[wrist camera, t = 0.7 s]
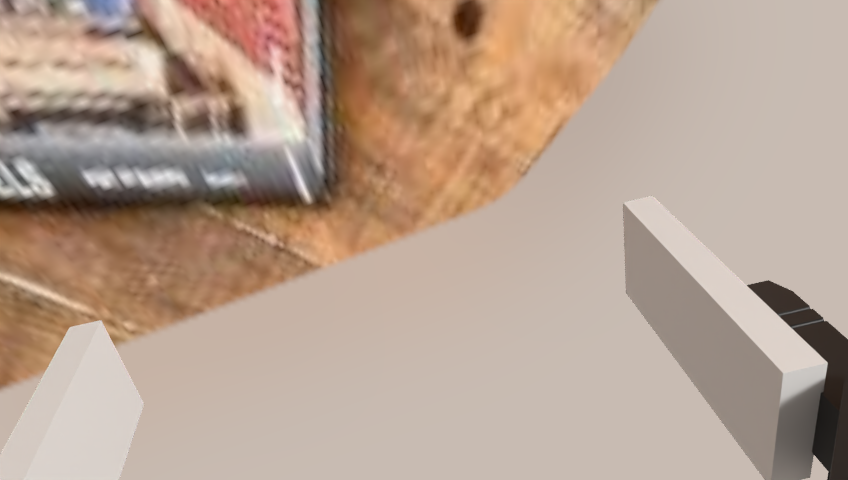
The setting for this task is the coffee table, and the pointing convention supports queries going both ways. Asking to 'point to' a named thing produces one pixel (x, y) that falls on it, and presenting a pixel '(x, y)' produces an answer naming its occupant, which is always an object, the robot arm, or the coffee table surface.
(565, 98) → the coffee table surface
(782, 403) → the robot arm
